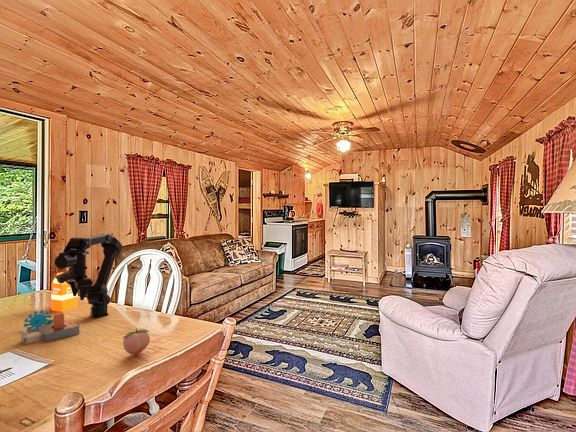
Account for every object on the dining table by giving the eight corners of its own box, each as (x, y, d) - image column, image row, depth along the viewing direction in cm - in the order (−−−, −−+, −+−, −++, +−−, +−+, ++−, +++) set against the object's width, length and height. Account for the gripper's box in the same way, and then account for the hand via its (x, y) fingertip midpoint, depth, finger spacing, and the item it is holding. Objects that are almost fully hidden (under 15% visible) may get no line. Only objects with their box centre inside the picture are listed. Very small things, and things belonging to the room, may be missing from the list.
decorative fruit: (142, 347, 125) (143, 322, 125) (153, 353, 120) (153, 327, 120) (118, 355, 118) (118, 328, 118) (127, 362, 113) (128, 334, 112)
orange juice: (51, 310, 166) (51, 272, 166) (67, 305, 175) (67, 269, 174) (62, 312, 164) (62, 274, 164) (77, 307, 173) (78, 270, 172)
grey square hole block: (69, 327, 144) (69, 319, 144) (79, 333, 136) (79, 325, 136) (37, 334, 135) (37, 326, 135) (45, 342, 127) (45, 334, 127)
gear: (18, 329, 135) (29, 308, 142) (21, 335, 139) (31, 314, 146) (49, 330, 139) (57, 310, 146) (51, 336, 143) (59, 316, 150)
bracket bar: (39, 337, 132) (39, 325, 132) (42, 339, 130) (42, 327, 130) (21, 341, 127) (21, 329, 127) (24, 344, 125) (24, 332, 125)
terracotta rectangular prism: (61, 332, 138) (61, 312, 137) (63, 334, 136) (64, 313, 136) (53, 334, 135) (53, 313, 135) (55, 336, 133) (55, 315, 133)
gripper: (51, 264, 145) (51, 297, 145) (64, 269, 133) (64, 306, 133) (78, 261, 153) (78, 293, 154) (93, 266, 142) (93, 300, 142)
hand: (78, 298), depth 145 cm, fingers open, 9 cm apart
